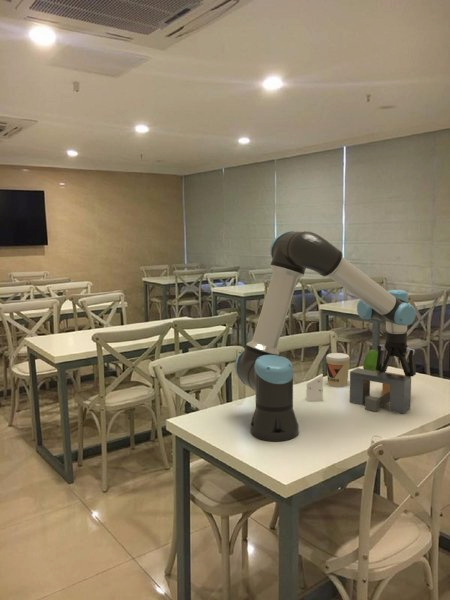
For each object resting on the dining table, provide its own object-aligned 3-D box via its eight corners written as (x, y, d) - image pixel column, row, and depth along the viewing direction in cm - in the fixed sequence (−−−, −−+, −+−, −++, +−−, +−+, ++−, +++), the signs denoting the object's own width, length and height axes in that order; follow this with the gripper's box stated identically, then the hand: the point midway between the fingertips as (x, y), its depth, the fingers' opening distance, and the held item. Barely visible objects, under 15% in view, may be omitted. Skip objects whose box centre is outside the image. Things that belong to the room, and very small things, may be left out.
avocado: (373, 380, 209) (374, 352, 207) (359, 376, 215) (359, 349, 214) (386, 377, 213) (387, 349, 212) (371, 373, 220) (372, 346, 218)
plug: (379, 412, 172) (380, 390, 171) (361, 408, 177) (361, 386, 176) (405, 396, 189) (406, 375, 188) (387, 392, 193) (388, 372, 192)
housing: (403, 414, 171) (404, 381, 169) (349, 402, 184) (350, 371, 182) (410, 409, 175) (411, 377, 174) (357, 397, 188) (357, 368, 187)
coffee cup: (321, 384, 206) (321, 355, 204) (334, 379, 212) (335, 351, 210) (340, 389, 199) (340, 359, 197) (353, 384, 205) (354, 355, 204)
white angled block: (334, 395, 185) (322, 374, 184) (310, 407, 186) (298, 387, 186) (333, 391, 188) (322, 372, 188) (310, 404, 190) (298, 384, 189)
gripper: (427, 333, 183) (425, 394, 186) (375, 327, 196) (374, 384, 199) (419, 336, 177) (417, 399, 180) (366, 330, 190) (365, 389, 193)
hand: (395, 391), depth 189 cm, fingers closed on plug, 7 cm apart
